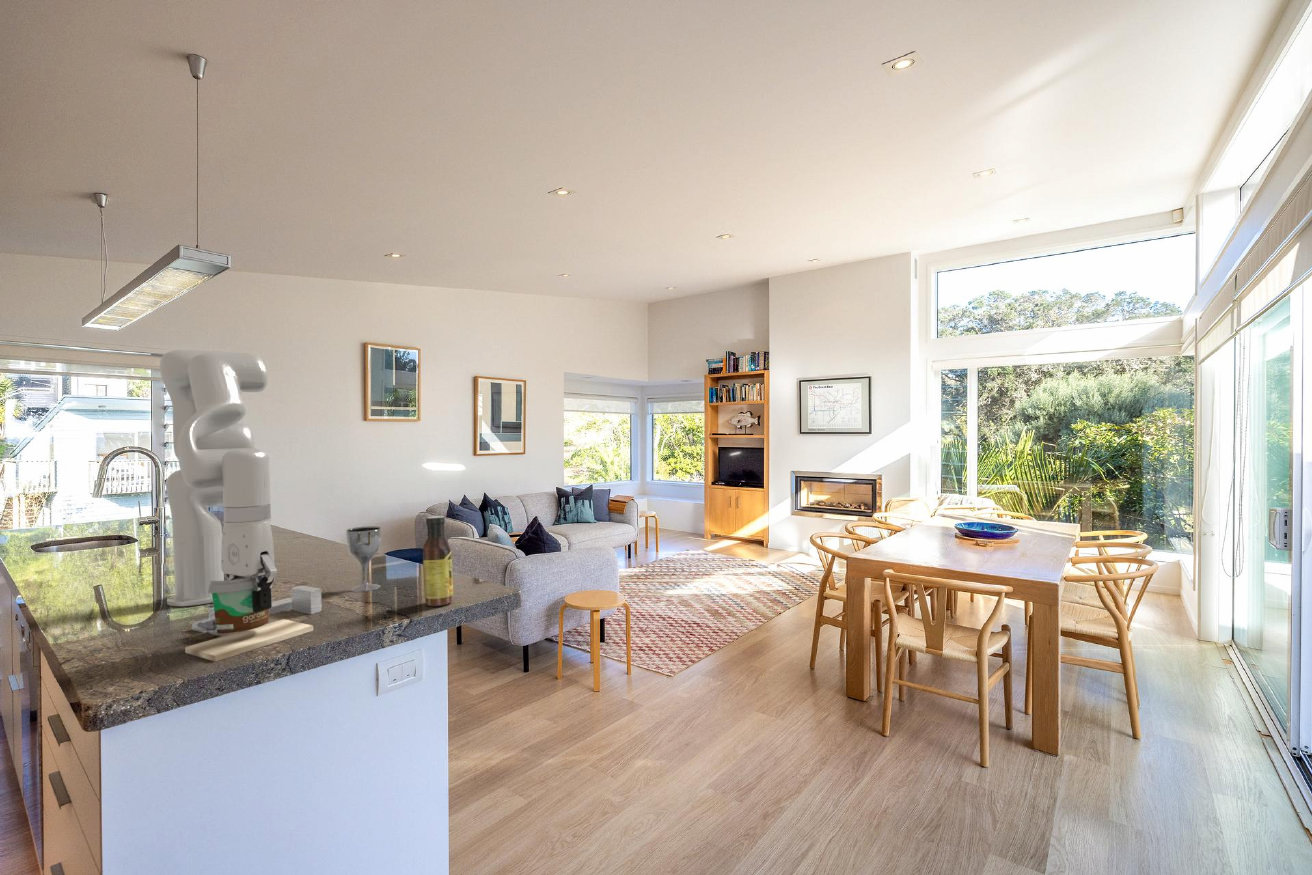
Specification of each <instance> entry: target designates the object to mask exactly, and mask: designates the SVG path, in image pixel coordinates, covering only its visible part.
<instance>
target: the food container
mask: <svg viewBox="0 0 1312 875" xmlns="http://www.w3.org/2000/svg"><path fill="white" fill-rule="evenodd" d="M257 573H261V572H257ZM257 573H256V574H257ZM263 577H264V576H263ZM261 579H262V577H258V580H259V582H260V581H261ZM275 579H276V577H275V578H274V581H275ZM252 591H255V589H254V586H253V583H252V579H251V577H249V578H244V577H238V576H237V577H235V578H233V579H231V580H229V579H228V580H224V581H211V585H209V592H208V593H212V598H213V602H212V604H213V607H214V613H215V620H216V627H217V633H222V634H224V633H235V632H242V631H247V630H251V629H255V628H258V627H261V626H263V625H265V624H268V623H269V617H270V614H269V609H266V610H263V611H259V612H253V605H252Z"/></svg>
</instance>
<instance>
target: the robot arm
mask: <svg viewBox="0 0 1312 875" xmlns="http://www.w3.org/2000/svg"><path fill="white" fill-rule="evenodd" d="M159 366H160V367H159V370H160V371H159V372H160V376H161V379H162V382H163V384H164V387H165V389H166V392H167V394H168V396H169V397H170V402H171V405H172V438H173V439H172V441H173V450H174V451H173V452H174V455H175V456H176V458H177V459H178V461H179V462H178V463H179V468H180V469H179V470H176V471H173V472H171V474H170V475H169V476H167V479H166V482H165V489H166V495H167V499H168V504H169V509H170V515H171V523H172V524H171V525H172V546H173V569H174V570H173V571H174V572H173V574H174V577H173V578H174V584H173V588H174V595H172V596H171V595H170V597H168V598H167V600H166V603H167V604H166V605H168V606H170V607H191V606H200V605H207V604H213V598H212V593H208V592H209V585H211V581H225V578H224V575H226V577H227V578H228V580H231V579H233V578H235V577H237V576H238V577H244V578H249V577H251V579H252V583H253V586H254V589H255V591H252V605H253V612H259V611H263V610H266V609H270V608H271V607H272V602H273V601H272V588H273V586H274V585H273V582H275V580H274V578H275V579H276V576H277V574H278V569H277V567H276V566H275V550H274V549H275V548H274V540H273V538H274V537H273V532H272V527H271V521H272V511H271V510H272V509H271V507H272V506H271V482H270V458H269V455H268V453H267V451H265V450H261V449H259V448H255V437H254V434H253V431H252V429H251V428H250V427H249V426H248V425H247V424H246V423H243V422H241V420H243V418H244V417H245V416H246V413H247V407H246V404H245V400H244V397H243V393H261V392H263V391H264V390H266V388H267V386H268V383H269V372H268V369H267V365H266V364H265V362H264V360H263V359H262V358H261V357H260V356H258V355H255V354H249V353H245V352H230V351H228V352H227V351H213V350H201V349H199V350H198V349H179V350H178V349H177V350H170V351H166V352H165V353H164V354H162V356H161V357H160V362H159ZM221 506H223V526H222V523H221V521H220V519H219V518H218V517H217V516H216V515H215V514H213V513H212V512H211V511H210V510H209V508H212V507H221ZM257 572H261V573H257ZM256 573H257V574H256ZM263 576H264V577H263ZM258 577H262V579H261V581H260V582H259V580H258Z"/></svg>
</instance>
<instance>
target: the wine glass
mask: <svg viewBox="0 0 1312 875" xmlns="http://www.w3.org/2000/svg"><path fill="white" fill-rule="evenodd" d="M345 532H346V533H345V534H346V543H347V548H348V551H349V553H350V554H351V556H353V557H354V558H355V559H356V560H357V561H358V562H359V563H360V566H361V568H362V574H363V583H362V584H359V585H356V586H353V587H351V588H350V589H349V591H350V592H353V593H354V592H355V593H362V592H363V593H364V592H365V593H366V592H370V591H375V590H378V589H380V588H381V587H382V586H381V585H380V584H377V583H369V582H368V567H369V564H370V562H371V560H372V559H373V558H374V556H375V555H376V554H377V553H378V551H379V549H380V546H381V540H382V527H381V526H378V525H377V526H373V525H372V526H370V525H369V526H368V525H367V526H359V527H358V526H357V527H352V528H348V529H346V531H345Z"/></svg>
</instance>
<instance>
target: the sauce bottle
mask: <svg viewBox="0 0 1312 875" xmlns="http://www.w3.org/2000/svg"><path fill="white" fill-rule="evenodd" d="M425 522H426V523H425V524H426V525H427V526H426V527H427V534H426V535H427V539H426V541H425V542H424V544H423V547H422V557H423V558H422V570H423V572H422V573H423V590H424V591H423V592H424V596H423V597H424V600H425V605H426V606H427V607H441V606H446V605H448V604H451V603H452V602H453V600H454V599H453V595H454V584H453V583H454V581H453V580H454V578H453V560H452V559H453V557H452V548H451V546H450V543H449V541H448V540H449V539H448V538H447V535H446V531H445V522H446V518H445V516H444V515H435V516H433V515H432V516H427V517H426V519H425Z"/></svg>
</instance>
